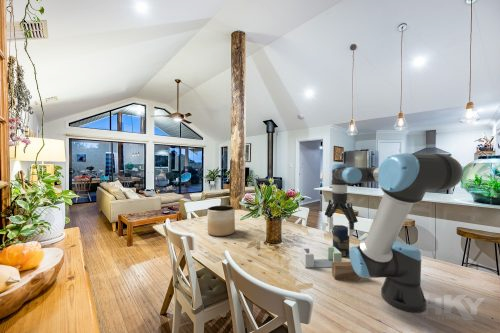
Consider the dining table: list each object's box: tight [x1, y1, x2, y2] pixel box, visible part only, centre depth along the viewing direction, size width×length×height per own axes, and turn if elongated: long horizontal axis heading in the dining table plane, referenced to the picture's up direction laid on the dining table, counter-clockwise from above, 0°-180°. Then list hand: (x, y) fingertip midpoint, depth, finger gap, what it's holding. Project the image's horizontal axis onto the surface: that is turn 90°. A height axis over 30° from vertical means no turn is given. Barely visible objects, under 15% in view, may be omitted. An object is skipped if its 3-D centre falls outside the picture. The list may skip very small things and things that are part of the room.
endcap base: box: [300, 247, 333, 269], centre depth 122 cm, size 9×20×7 cm, turn 92°
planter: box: [207, 204, 236, 237], centre depth 176 cm, size 22×22×20 cm
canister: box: [332, 224, 350, 257], centre depth 134 cm, size 10×10×18 cm
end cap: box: [326, 246, 343, 262], centre depth 122 cm, size 9×4×7 cm, turn 2°
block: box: [331, 261, 361, 281], centre depth 107 cm, size 4×12×7 cm, turn 91°
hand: (340, 232), depth 117 cm, fingers open, 13 cm apart
